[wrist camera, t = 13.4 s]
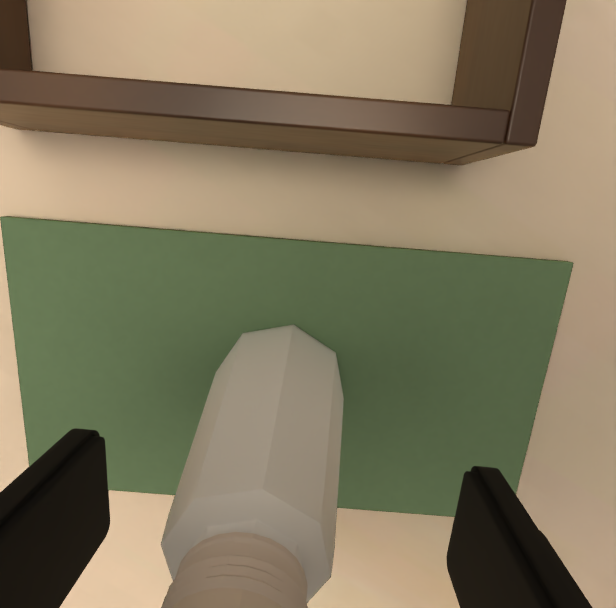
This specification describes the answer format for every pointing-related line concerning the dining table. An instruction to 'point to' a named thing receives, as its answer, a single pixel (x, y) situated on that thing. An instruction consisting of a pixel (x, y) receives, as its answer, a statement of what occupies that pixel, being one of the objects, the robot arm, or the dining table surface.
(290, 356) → the pepper shaker
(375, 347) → the placemat
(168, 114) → the box
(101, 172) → the dining table surface
